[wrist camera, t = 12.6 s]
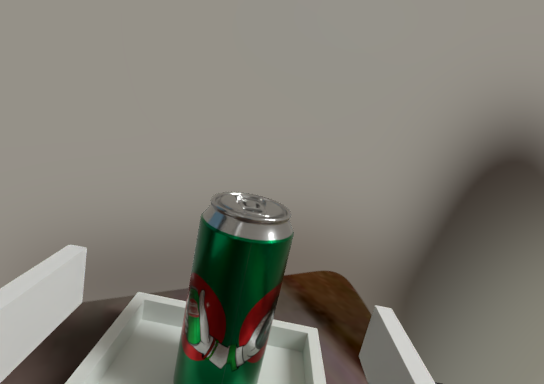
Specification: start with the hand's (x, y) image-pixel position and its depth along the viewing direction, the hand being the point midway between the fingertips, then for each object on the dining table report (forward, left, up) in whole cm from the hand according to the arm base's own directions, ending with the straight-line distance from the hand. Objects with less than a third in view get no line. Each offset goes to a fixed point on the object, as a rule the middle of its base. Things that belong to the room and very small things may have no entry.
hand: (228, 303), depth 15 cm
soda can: (0, +4, -8) cm, 9 cm away
